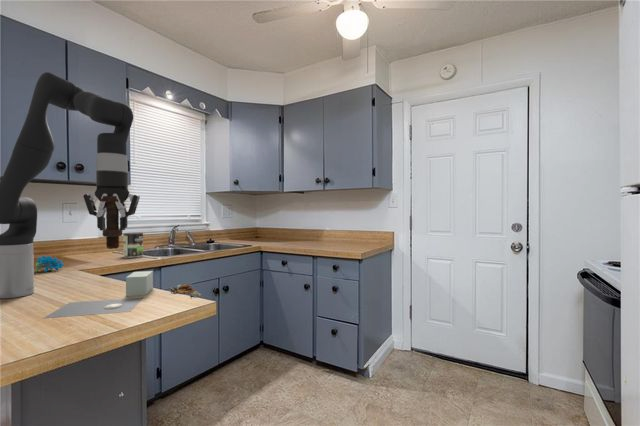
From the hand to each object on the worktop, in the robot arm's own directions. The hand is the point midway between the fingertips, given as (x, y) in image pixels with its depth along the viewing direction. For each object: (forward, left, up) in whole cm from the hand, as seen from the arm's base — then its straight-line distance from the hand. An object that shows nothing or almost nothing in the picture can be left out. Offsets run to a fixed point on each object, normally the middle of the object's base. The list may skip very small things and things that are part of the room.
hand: (112, 229), depth 90 cm
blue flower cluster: (-48, +71, -24) cm, 89 cm away
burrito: (+18, +12, -24) cm, 32 cm away
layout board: (-4, +1, -23) cm, 24 cm away
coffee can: (-24, +108, -23) cm, 113 cm away
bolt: (0, 0, -6) cm, 6 cm away
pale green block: (+3, +16, -23) cm, 28 cm away
